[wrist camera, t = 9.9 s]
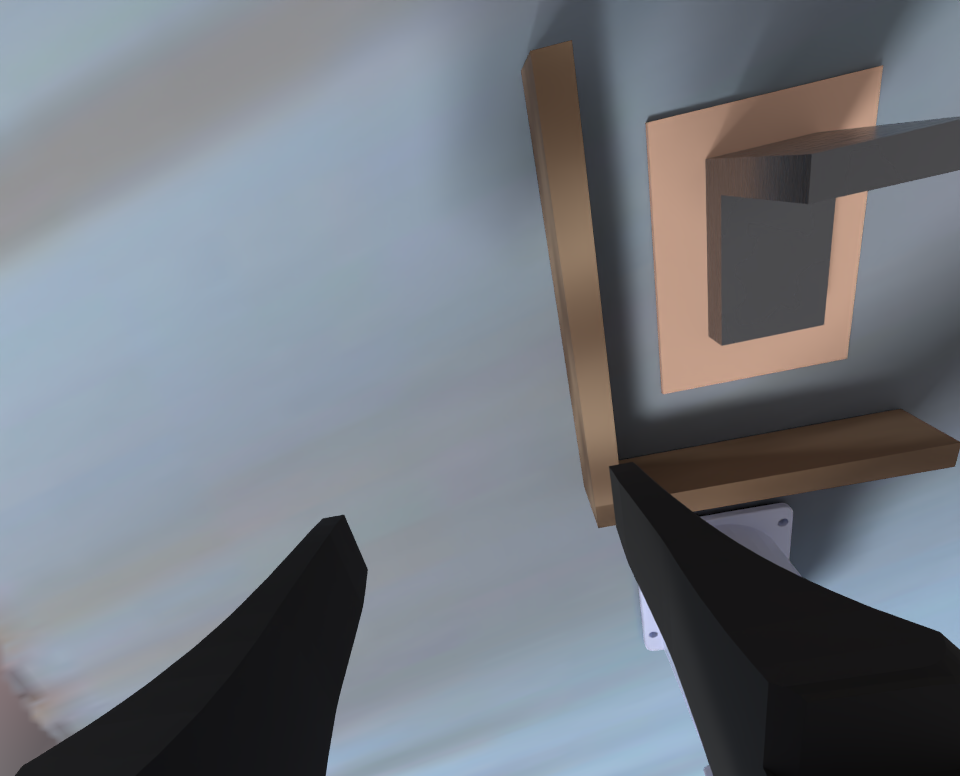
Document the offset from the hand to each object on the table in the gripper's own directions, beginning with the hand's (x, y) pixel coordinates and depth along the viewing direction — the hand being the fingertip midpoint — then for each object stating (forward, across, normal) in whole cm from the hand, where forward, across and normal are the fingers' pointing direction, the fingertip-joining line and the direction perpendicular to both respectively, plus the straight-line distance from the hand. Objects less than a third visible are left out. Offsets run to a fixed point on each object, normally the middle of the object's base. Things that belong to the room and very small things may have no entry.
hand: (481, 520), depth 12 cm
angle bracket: (+9, -12, -3) cm, 16 cm away
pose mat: (+9, -12, -3) cm, 16 cm away
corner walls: (+9, -11, -2) cm, 15 cm away
